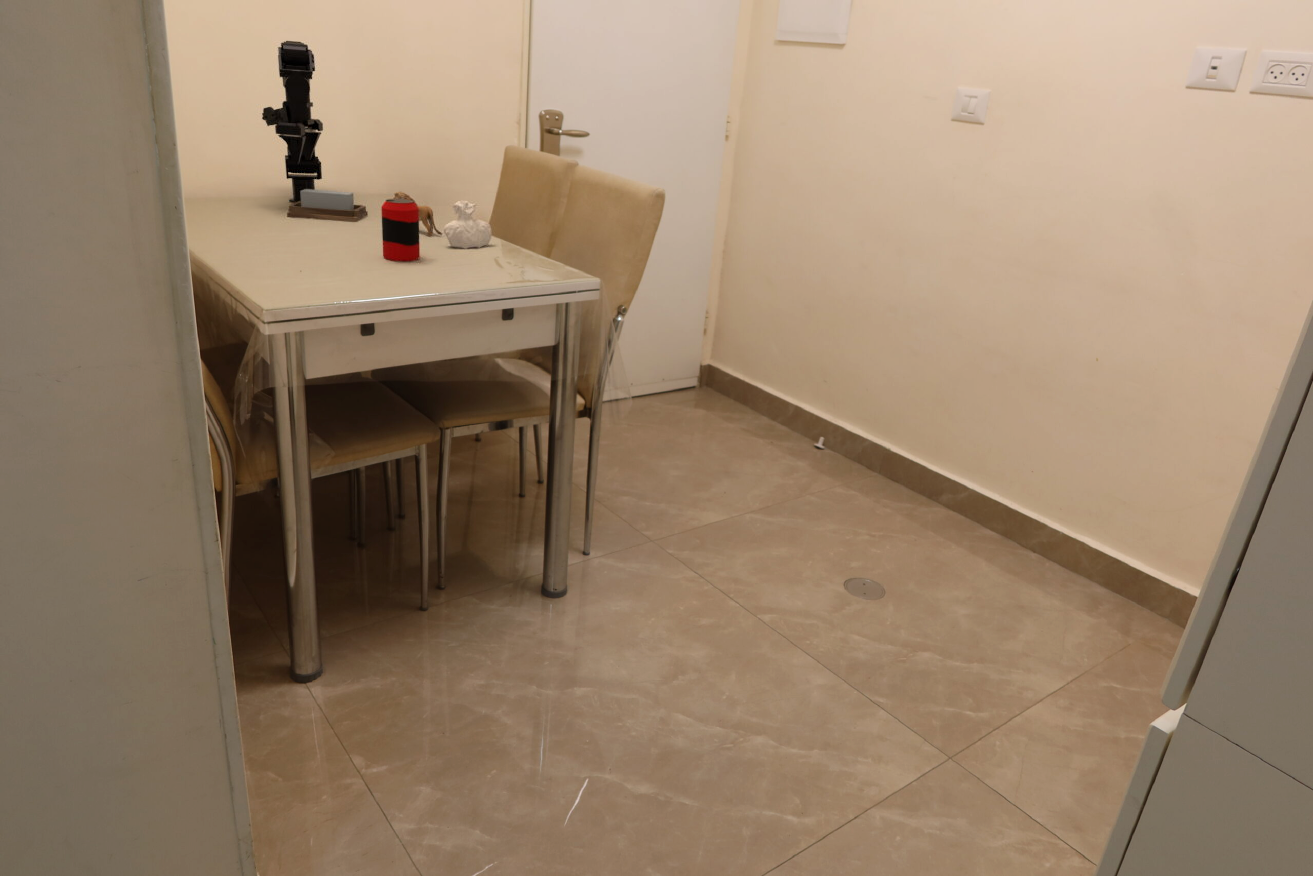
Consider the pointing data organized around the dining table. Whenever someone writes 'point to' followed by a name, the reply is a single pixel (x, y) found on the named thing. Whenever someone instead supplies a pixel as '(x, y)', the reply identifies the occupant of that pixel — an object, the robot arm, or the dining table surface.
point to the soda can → (400, 230)
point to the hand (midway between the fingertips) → (302, 161)
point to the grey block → (327, 199)
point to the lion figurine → (421, 214)
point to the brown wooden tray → (327, 213)
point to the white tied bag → (467, 228)
